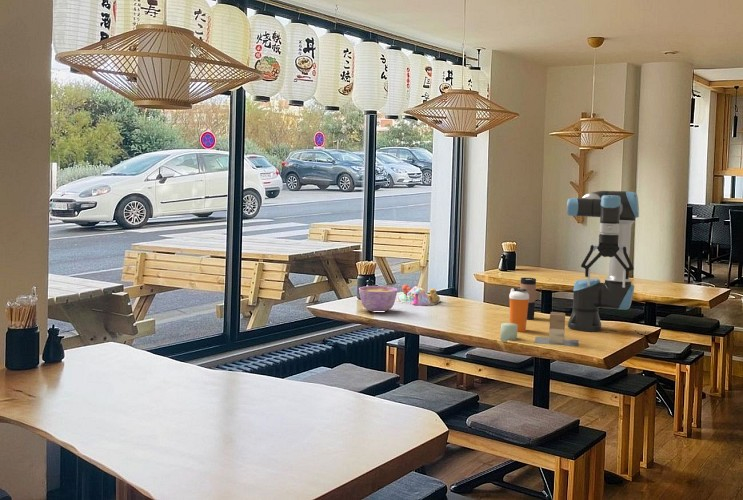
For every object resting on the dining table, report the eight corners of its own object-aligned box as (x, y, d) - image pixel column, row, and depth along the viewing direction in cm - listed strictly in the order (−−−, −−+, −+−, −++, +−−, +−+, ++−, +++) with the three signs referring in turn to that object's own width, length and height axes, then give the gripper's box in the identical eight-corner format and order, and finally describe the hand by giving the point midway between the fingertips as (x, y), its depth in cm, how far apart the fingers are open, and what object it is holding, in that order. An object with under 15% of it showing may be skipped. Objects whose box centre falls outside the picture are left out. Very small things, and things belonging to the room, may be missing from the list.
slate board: (535, 338, 334) (536, 336, 334) (578, 342, 330) (578, 340, 329) (533, 345, 322) (533, 342, 322) (577, 349, 317) (577, 346, 317)
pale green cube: (501, 338, 335) (502, 322, 334) (517, 339, 333) (518, 323, 332) (499, 341, 328) (500, 325, 327) (516, 342, 326) (516, 326, 325)
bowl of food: (350, 310, 392) (350, 288, 391) (378, 306, 405) (379, 284, 404) (376, 316, 377) (377, 293, 376) (405, 312, 390) (406, 289, 389)
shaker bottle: (523, 335, 342) (525, 290, 340) (504, 332, 347) (506, 288, 344) (530, 331, 349) (532, 288, 347) (512, 329, 354) (513, 286, 352)
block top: (550, 325, 329) (550, 312, 328) (564, 326, 327) (565, 313, 326) (549, 328, 323) (550, 314, 322) (564, 329, 321) (564, 315, 321)
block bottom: (549, 339, 329) (550, 325, 329) (564, 340, 328) (564, 326, 327) (548, 342, 324) (549, 328, 323) (563, 343, 322) (564, 329, 321)
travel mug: (518, 316, 385) (520, 277, 383) (533, 317, 384) (535, 277, 382) (519, 319, 378) (521, 279, 376) (535, 320, 377) (536, 280, 375)
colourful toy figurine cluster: (441, 299, 432) (441, 283, 432) (440, 307, 409) (441, 290, 408) (397, 298, 435) (397, 282, 434) (394, 305, 412) (394, 288, 411)
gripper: (576, 233, 306) (574, 285, 309) (642, 235, 300) (639, 289, 303) (576, 231, 314) (574, 283, 316) (640, 234, 307) (637, 286, 310)
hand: (606, 286), depth 309 cm, fingers open, 13 cm apart
